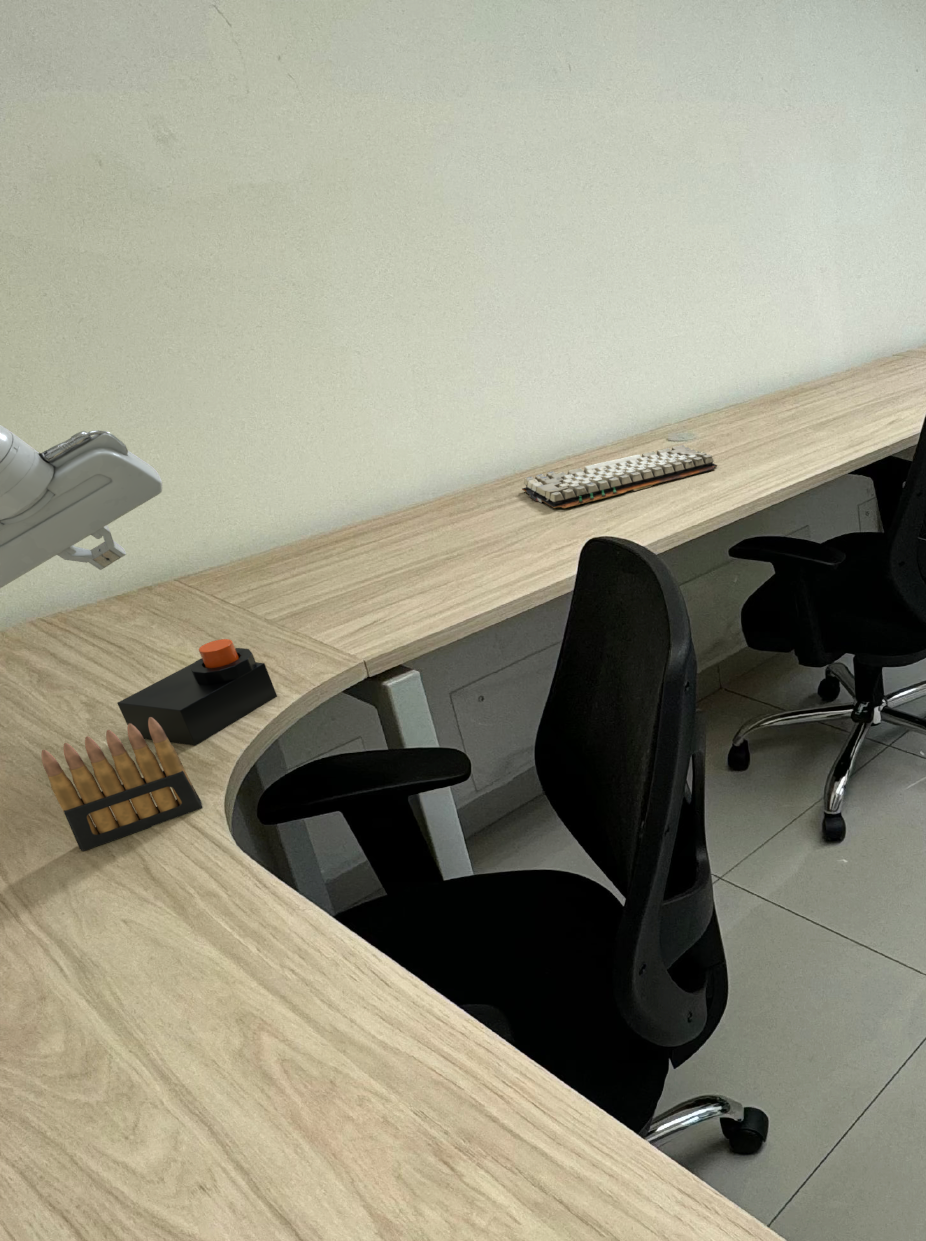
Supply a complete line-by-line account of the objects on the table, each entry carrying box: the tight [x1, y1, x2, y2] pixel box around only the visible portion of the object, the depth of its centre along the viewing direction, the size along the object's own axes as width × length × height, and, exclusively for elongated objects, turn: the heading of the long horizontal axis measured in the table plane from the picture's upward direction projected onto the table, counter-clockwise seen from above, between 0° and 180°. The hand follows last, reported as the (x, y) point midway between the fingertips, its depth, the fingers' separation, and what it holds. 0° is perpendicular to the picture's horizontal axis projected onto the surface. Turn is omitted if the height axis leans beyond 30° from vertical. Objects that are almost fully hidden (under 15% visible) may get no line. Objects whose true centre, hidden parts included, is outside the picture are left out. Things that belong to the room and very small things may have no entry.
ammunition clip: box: [41, 717, 203, 852], centre depth 105 cm, size 11×2×12 cm, turn 131°
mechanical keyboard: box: [521, 444, 718, 509], centre depth 212 cm, size 38×19×3 cm, turn 133°
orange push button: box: [198, 638, 239, 668], centre depth 127 cm, size 4×4×3 cm
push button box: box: [116, 647, 278, 747], centre depth 127 cm, size 10×12×7 cm
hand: (113, 559), depth 111 cm, fingers closed
